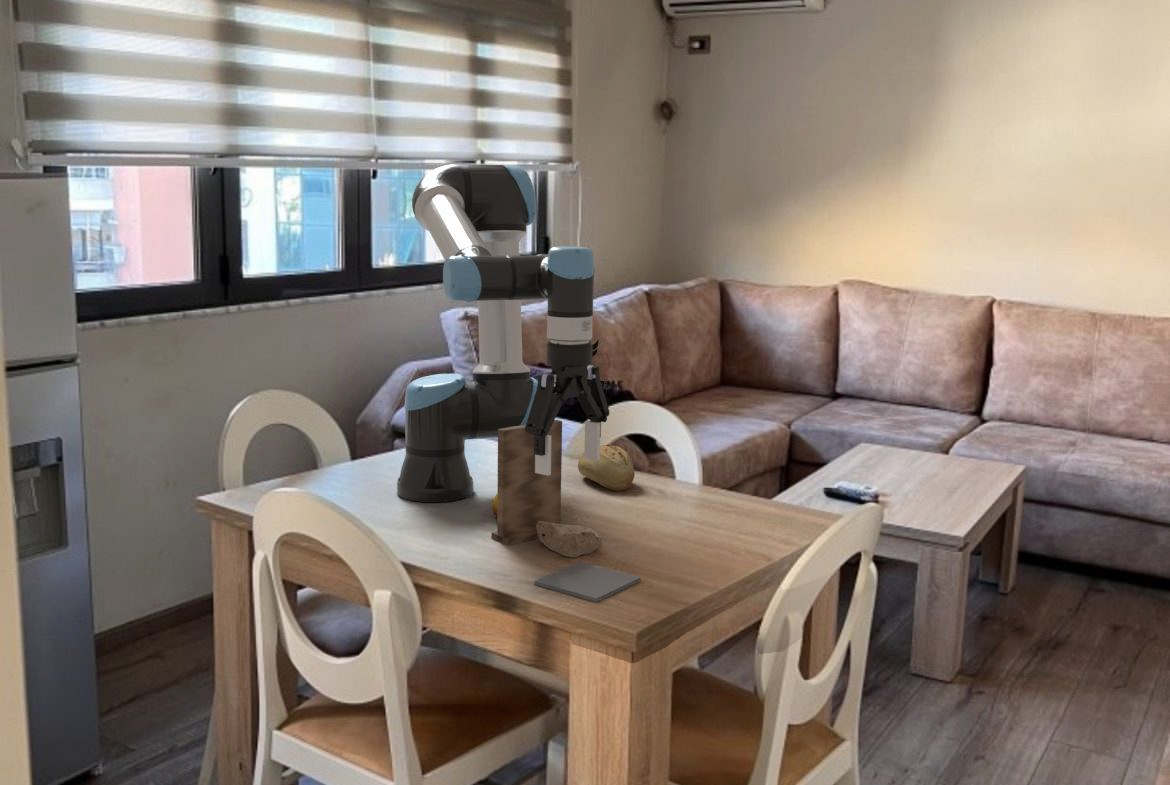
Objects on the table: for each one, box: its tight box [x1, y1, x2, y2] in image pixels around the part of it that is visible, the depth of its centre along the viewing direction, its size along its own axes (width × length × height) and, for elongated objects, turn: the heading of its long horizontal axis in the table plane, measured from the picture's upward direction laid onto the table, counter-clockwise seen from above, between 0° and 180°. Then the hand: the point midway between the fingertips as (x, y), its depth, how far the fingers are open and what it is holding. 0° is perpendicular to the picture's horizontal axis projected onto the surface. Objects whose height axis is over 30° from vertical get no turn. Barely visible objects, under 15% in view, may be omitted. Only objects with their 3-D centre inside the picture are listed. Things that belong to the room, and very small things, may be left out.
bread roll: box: [577, 443, 635, 492], centre depth 243 cm, size 10×15×8 cm, turn 35°
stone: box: [536, 521, 603, 559], centre depth 202 cm, size 9×12×5 cm
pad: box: [533, 561, 642, 603], centre depth 186 cm, size 12×12×1 cm
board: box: [491, 419, 563, 546], centre depth 207 cm, size 13×5×20 cm, turn 131°
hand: (568, 466), depth 198 cm, fingers open, 13 cm apart
